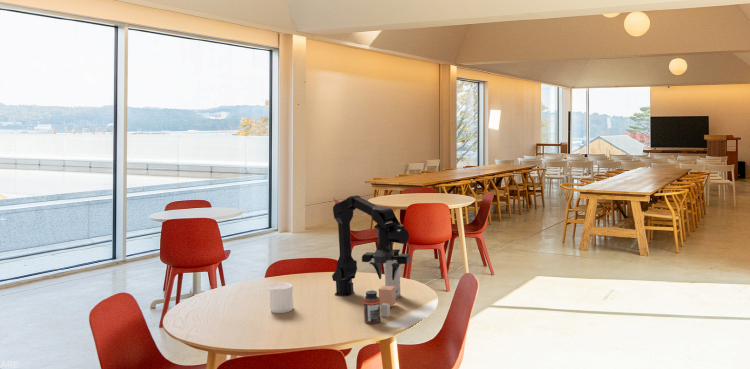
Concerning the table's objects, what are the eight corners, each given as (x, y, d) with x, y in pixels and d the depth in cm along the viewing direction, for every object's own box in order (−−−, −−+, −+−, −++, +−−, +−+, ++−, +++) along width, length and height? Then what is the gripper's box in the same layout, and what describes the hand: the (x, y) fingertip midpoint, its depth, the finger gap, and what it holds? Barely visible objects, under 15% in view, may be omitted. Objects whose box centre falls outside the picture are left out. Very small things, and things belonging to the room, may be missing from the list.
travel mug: (400, 299, 239) (398, 251, 237) (384, 298, 241) (382, 251, 238) (402, 294, 245) (400, 248, 243) (387, 294, 247) (385, 248, 245)
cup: (274, 315, 225) (272, 290, 224) (266, 308, 233) (265, 284, 232) (297, 310, 229) (296, 286, 228) (288, 304, 238) (287, 281, 237)
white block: (381, 316, 218) (380, 305, 218) (383, 314, 221) (383, 303, 220) (387, 317, 217) (387, 305, 217) (390, 315, 220) (389, 303, 219)
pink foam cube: (379, 305, 228) (378, 289, 228) (383, 301, 233) (383, 285, 233) (391, 306, 227) (391, 290, 226) (395, 302, 231) (395, 286, 231)
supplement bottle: (363, 319, 216) (362, 289, 215) (379, 318, 216) (378, 288, 215) (364, 324, 210) (363, 294, 209) (381, 323, 210) (380, 293, 209)
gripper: (355, 243, 223) (357, 283, 225) (401, 245, 217) (403, 286, 218) (366, 238, 234) (367, 276, 235) (410, 239, 227) (411, 278, 229)
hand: (386, 279), depth 229 cm, fingers open, 5 cm apart
